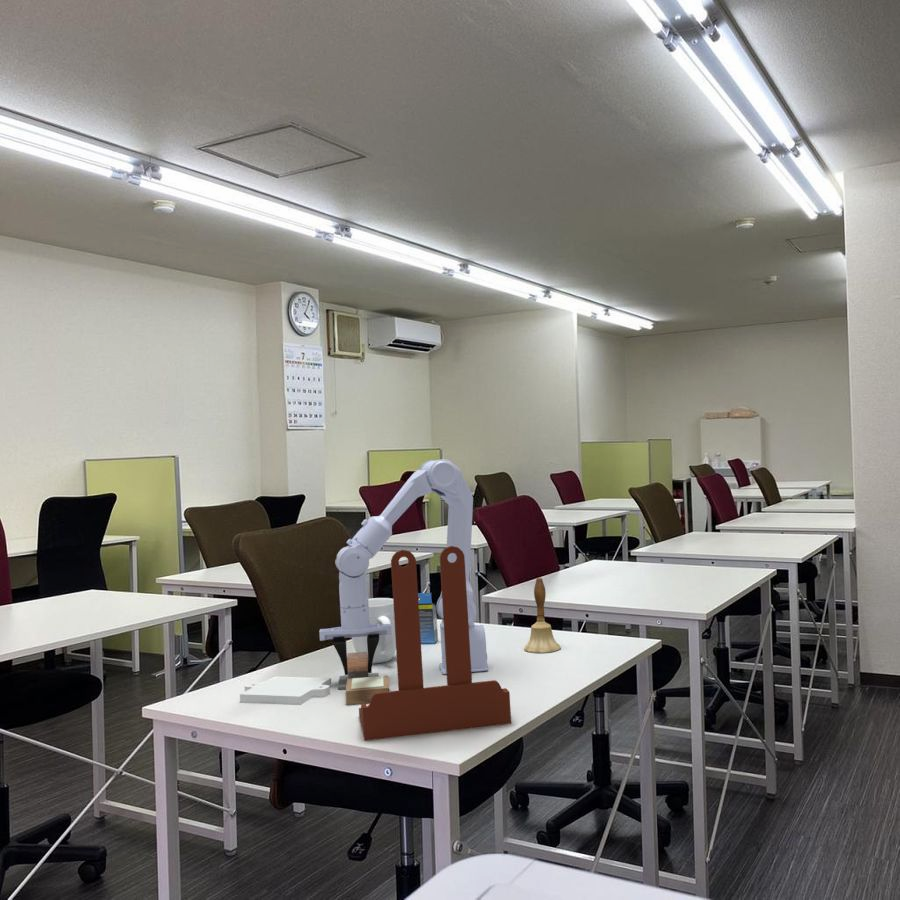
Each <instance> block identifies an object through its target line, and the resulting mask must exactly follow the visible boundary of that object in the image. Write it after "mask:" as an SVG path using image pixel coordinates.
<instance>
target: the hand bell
mask: <svg viewBox="0 0 900 900" xmlns="http://www.w3.org/2000/svg"><path fill="white" fill-rule="evenodd" d="M546 594H547V593H546V586H545V584H544V580H543V578H541V577H537V578H536V579H535V584H534V588H533V596H534V601H535V603H536V608H537V609H536V622H535V623H534V624H532V625H531V627H530V628H531V630H530V636H529V641H528V642H527V644H526V645H525V646H524V649H523V650H524V651H525V652H527V653H532V654H536V653H537V654H545V653H554V652H558V651H560V650H561V647H562V646H561V645H560V644H559V643H558V642H557V641H556V639H555V637H554V635H553V634H554V633H553V631H552V626H551V624H550V623H548V622H546V621H545V609H544V607H545V601H546Z"/></svg>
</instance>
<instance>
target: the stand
mask: <svg viewBox="0 0 900 900" xmlns="http://www.w3.org/2000/svg"><path fill="white" fill-rule="evenodd" d="M389 691H390V680H389V675H379V676H376V677H364V678H352V679H347V685H346V689H345V702H346V705H347V706H351V705H361V704H365V703H366V704H370V700H371V697H372V696H373V694H374V693H380V692H389Z"/></svg>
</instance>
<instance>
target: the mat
mask: <svg viewBox="0 0 900 900" xmlns="http://www.w3.org/2000/svg"><path fill="white" fill-rule="evenodd" d="M376 676H380V675H379V672H372V673H369V677H376ZM347 679H348V675H345V674H344V675H339V679H338V685H337V690H338V691H342V690H346V685H347Z"/></svg>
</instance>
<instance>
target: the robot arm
mask: <svg viewBox="0 0 900 900" xmlns="http://www.w3.org/2000/svg"><path fill="white" fill-rule="evenodd" d="M432 493H435V494H437V495H438V496H439V497H440V498H441V499H442V500H443V501H444V502H445V503H446V504H447V506H448V510H447V511H448V512H447V531H446V533H447V535H446V548H447V547H449V546H454V547H458V548H459V549H460V550H461V551H462V552H463V554H464V557H465V573H466V590H467V607H468V623H469V640H470V657H471V673H473V672H474V673H475V672H485V671H489V668H488V652H487V639H486V631H485V627H484V625H483V624H475V620H476V618H477V614H478V613H477V611H478V610H477V607H476V604H475V601H474V590H473V587H472V585H471V582H470V576H471V574H470V573H471V553H472V552H471V551H472V530H473V509H474V497H473V496H474V495H473V494H472V492H471V489H470V487H469V486H468V484H467V482H466V479H465V478H464V476H463V471H462V469H460V467H458V466H457V465H456V464H454V463H453V462H452V461H450V460H448V459H444V458H443V459H437V460H436V459H430V460H427V461H424V462H423V463H422V464H421V466H420V468H419V469H417V470H416V471H414V472H413V473H412V474H411V475H410V477H409V478H408V479H407V480H406V482H405V483H404V484H403V485H402V487H401V488H400V489H399V491H398V492H397V493H396V494H395V496H394V497H393V498H392V499H391V501H389V503H388V504H387V506H386V507H385V508H384V510H383V511H382V512H381V514H379V515H377V516H373V515H372V516H370V517H369V518H368V519H363V521H362V522H361V526H362V527H361V528H360V529H359V530H358V531H357V532H356V534H355V535H354V536H353V537H352V538H349V539H348V540H347V541H346V544H347V546H344V547H342V548H341V549H340V550H339V551H338V553H337V554H336V558H335V560H334V563H335V566H336V568H337V570H338V571H339V573H338V580H339V585H338V589H339V590H338V591H339V610H340V624H341V626H337V627H330V628H320V629H319V641H320V642H321V641H322V642H323V641H326V640H332V645H333V647H334V649H335V651H336V653H337V654H338V657H339V659H340V661H341V664H342V667H343V671H344V676H345V675H348V667H347V655H348V652H347V649H348V648H347V639H348V638H349V639H350V638H351V639H352V637H364V636H367V648H368V673H373V672H372V671H373V670H372V669H373V664H372V662H373V658H374V654H375V651H376V648H377V645H378V642H379V635H392V625H391V624H370V621H369V605H368V599H369V593H368V592H369V591H368V590H369V589H368V582H367V571H368V569H369V565H370V559H373V558H374V557H375V556H376V554H377V553H378V552H379V551H380V550H381V549H382V547H383V546H384V545H385V543H387V542H388V540H390V538H391V537H392V535H393V531H392V529H393V525H394V524H395V522H397V521H398V519H399V518H400V517H401V516H402V515H403V514H404V513H405V512H406V511H407V510H408V509H409V508H410V506H411V505H412V504H413V503H414V502H415V501H416V500H417V499H418V498H420V497H423V496H427V495H429V494H432ZM456 559H457V556H456V554H455V553H451V554H449V555H448V561H449V562H450V563H453V562H455V561H456ZM435 607H436V613H437V615H438V616H439V617H440V618H441V621H440V624H439V628H440V629H439V630H440V644H441V645H440V646H441V662H440V663H439V665H438V666H439V668H440V671H441V674H442V675H447V672H446V655H445V638H444V621H443V605H442V590H441V592H440V596H439V597H438V599H437V602H436V606H435ZM363 633H364V634H363Z"/></svg>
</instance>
